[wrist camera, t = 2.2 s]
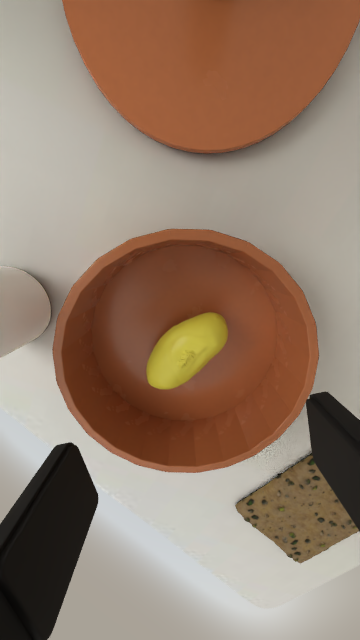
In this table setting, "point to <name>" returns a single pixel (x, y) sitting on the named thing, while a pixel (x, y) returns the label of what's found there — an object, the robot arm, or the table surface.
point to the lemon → (186, 350)
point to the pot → (213, 379)
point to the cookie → (298, 512)
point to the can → (21, 309)
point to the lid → (211, 63)
